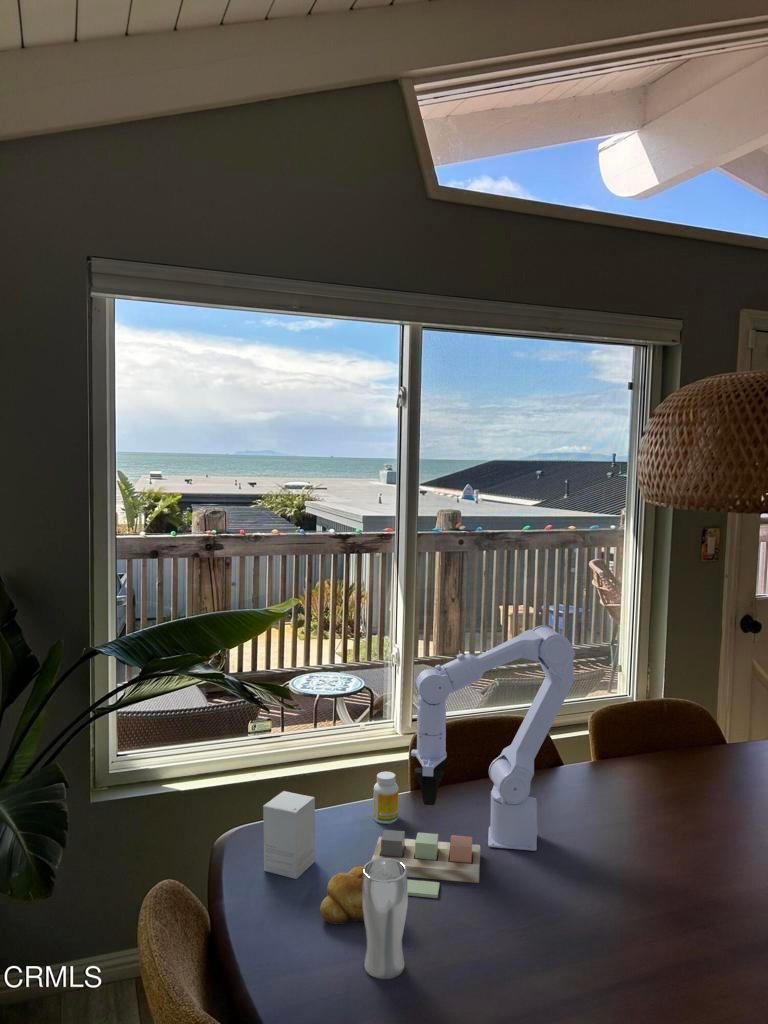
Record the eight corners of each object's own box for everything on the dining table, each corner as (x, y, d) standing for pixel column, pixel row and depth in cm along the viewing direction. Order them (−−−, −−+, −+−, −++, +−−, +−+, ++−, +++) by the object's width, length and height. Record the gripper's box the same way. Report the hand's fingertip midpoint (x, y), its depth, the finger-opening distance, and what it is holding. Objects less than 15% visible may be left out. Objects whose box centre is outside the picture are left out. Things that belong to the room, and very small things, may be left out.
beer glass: (360, 952, 113) (360, 857, 112) (404, 950, 114) (405, 856, 113) (362, 983, 106) (362, 882, 105) (410, 980, 107) (410, 880, 106)
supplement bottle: (368, 817, 158) (368, 774, 157) (387, 810, 161) (387, 768, 161) (384, 827, 154) (384, 782, 153) (403, 819, 157) (403, 775, 156)
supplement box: (316, 861, 140) (316, 796, 139) (296, 880, 133) (296, 812, 132) (283, 852, 143) (283, 789, 142) (262, 871, 136) (262, 804, 136)
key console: (480, 854, 142) (480, 845, 142) (478, 883, 132) (479, 872, 132) (379, 846, 145) (379, 836, 145) (370, 873, 136) (370, 862, 135)
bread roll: (327, 937, 117) (327, 889, 116) (310, 904, 126) (310, 859, 125) (401, 919, 122) (401, 872, 121) (379, 889, 131) (379, 845, 130)
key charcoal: (404, 846, 142) (404, 831, 141) (401, 857, 138) (402, 841, 137) (384, 844, 142) (384, 829, 142) (381, 855, 138) (381, 839, 138)
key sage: (438, 849, 141) (438, 834, 140) (436, 860, 137) (436, 844, 136) (417, 847, 141) (417, 832, 141) (415, 858, 137) (415, 842, 137)
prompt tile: (439, 885, 132) (439, 882, 132) (437, 898, 128) (437, 894, 128) (406, 882, 132) (406, 879, 132) (403, 895, 129) (403, 891, 129)
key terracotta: (472, 852, 140) (472, 836, 139) (471, 863, 136) (471, 847, 135) (451, 850, 140) (451, 835, 140) (449, 861, 136) (449, 845, 136)
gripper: (415, 717, 154) (415, 781, 154) (407, 742, 139) (406, 812, 140) (449, 719, 152) (448, 783, 153) (444, 744, 138) (443, 815, 139)
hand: (430, 797), depth 146 cm, fingers open, 6 cm apart
